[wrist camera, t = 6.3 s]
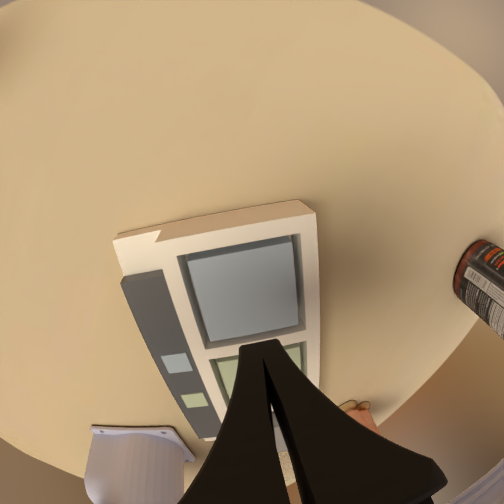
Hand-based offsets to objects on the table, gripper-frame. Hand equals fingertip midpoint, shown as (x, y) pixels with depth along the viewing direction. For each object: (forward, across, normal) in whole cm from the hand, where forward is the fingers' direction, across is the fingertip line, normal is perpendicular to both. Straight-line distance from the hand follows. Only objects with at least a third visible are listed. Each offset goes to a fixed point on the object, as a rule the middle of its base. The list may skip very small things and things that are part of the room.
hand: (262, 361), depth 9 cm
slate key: (+6, 0, 0) cm, 6 cm away
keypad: (+7, +1, +6) cm, 10 cm away
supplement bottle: (+7, -20, +4) cm, 22 cm away
